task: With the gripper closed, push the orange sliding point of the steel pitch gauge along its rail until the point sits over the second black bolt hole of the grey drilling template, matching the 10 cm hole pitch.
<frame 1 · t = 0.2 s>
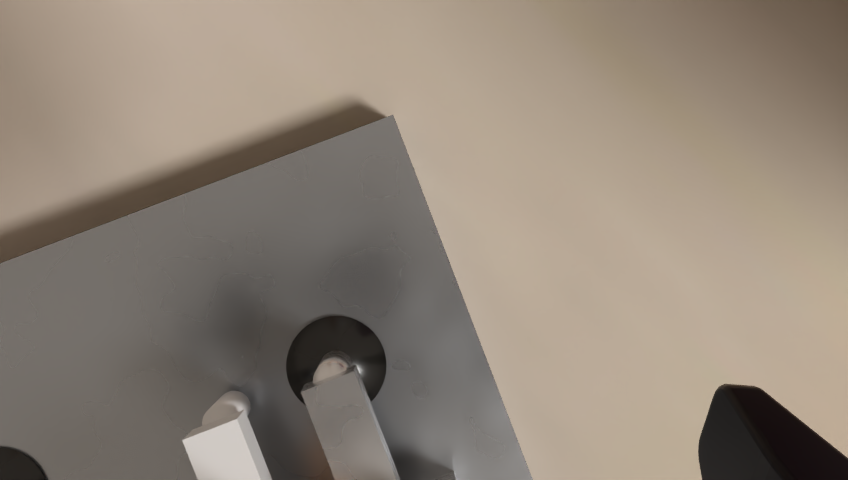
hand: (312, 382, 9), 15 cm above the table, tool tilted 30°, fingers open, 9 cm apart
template: (160, 464, 23), on the table
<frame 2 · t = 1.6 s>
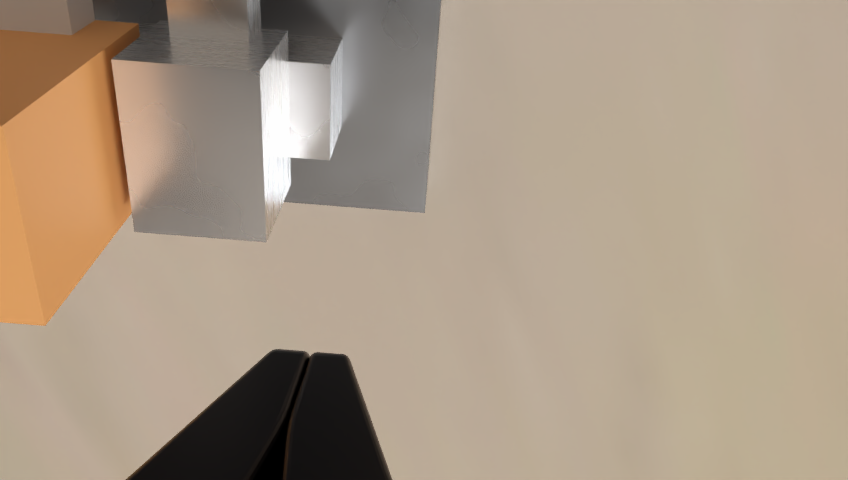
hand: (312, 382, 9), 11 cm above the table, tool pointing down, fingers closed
slider: (11, 22, 13), point 5 cm above the table, slide at -3.0 cm
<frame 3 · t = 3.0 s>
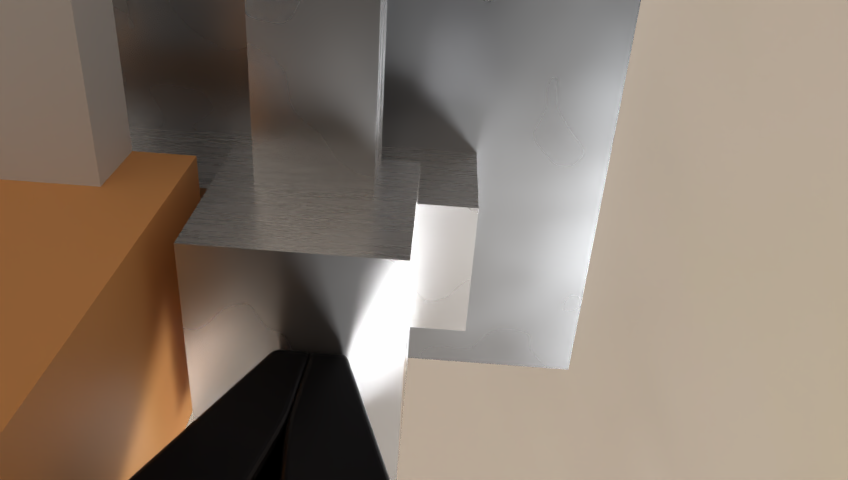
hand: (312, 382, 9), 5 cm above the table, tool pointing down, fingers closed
slider: (7, 179, 8), point 5 cm above the table, slide at -2.9 cm, touching gripper
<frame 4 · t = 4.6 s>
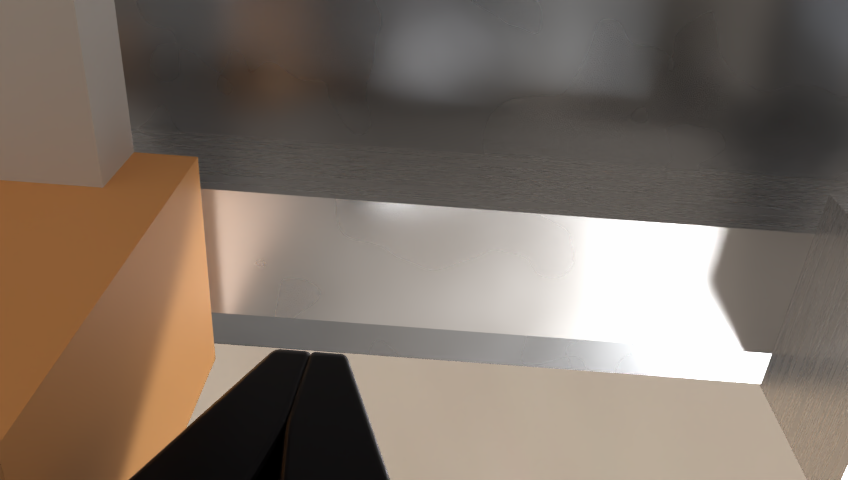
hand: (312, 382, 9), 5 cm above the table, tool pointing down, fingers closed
slider: (10, 180, 8), point 5 cm above the table, slide at 4.7 cm, touching gripper
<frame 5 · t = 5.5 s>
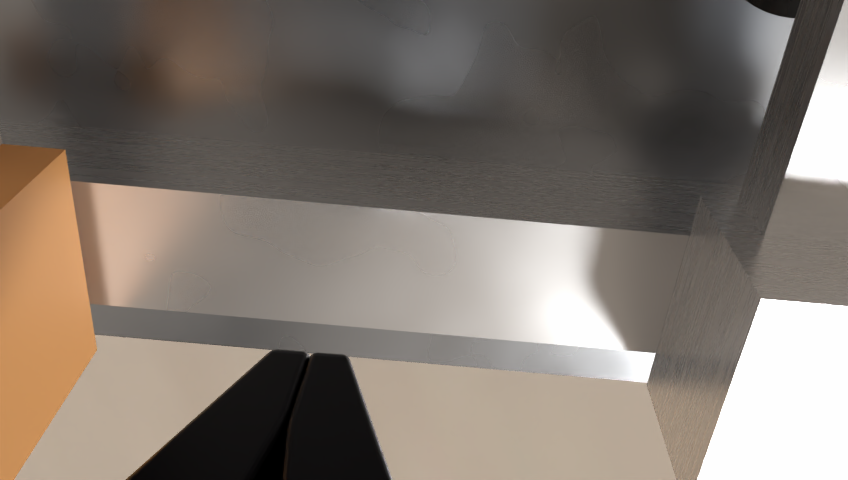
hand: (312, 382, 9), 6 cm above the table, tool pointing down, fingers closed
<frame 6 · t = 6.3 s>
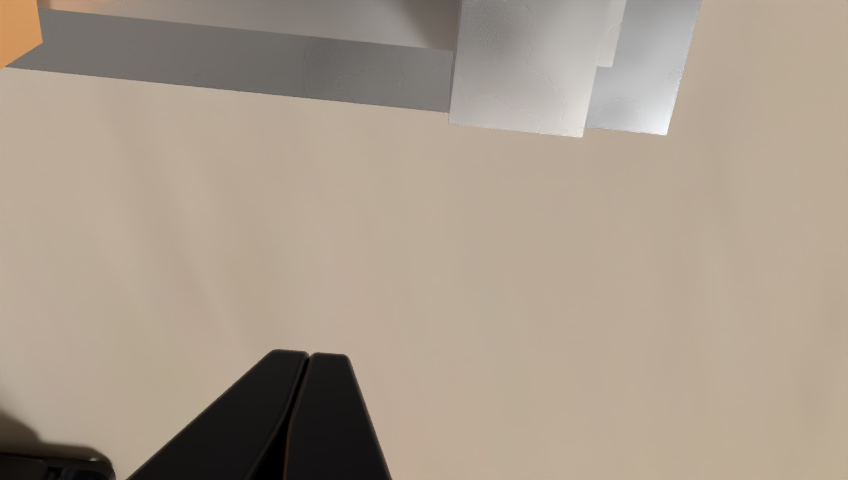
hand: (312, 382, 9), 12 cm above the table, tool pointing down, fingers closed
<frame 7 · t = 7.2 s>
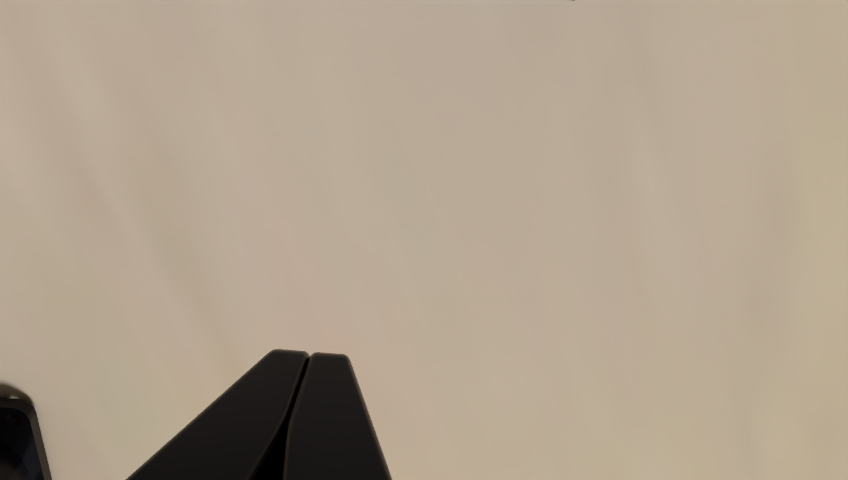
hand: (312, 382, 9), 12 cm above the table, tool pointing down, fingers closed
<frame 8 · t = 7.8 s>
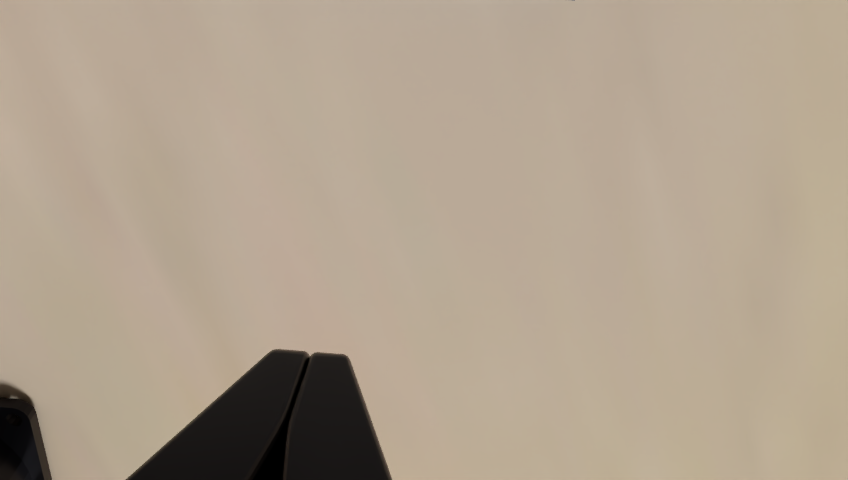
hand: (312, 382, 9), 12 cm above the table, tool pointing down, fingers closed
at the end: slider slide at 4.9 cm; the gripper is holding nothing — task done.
